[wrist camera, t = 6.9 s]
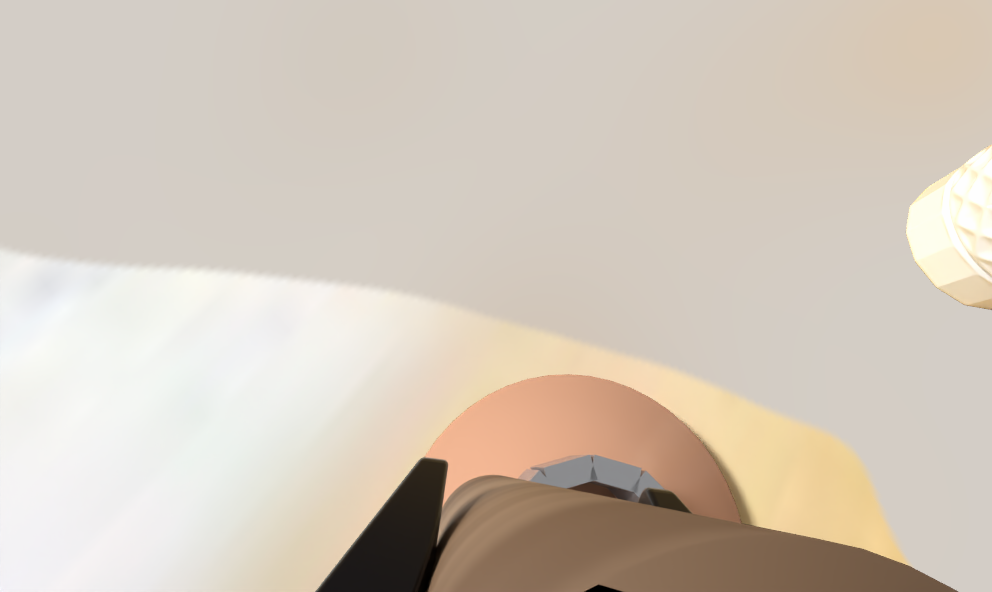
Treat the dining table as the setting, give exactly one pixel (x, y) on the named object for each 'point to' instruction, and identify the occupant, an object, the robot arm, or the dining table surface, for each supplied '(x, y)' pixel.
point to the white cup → (957, 232)
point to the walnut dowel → (634, 549)
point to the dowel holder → (583, 443)
